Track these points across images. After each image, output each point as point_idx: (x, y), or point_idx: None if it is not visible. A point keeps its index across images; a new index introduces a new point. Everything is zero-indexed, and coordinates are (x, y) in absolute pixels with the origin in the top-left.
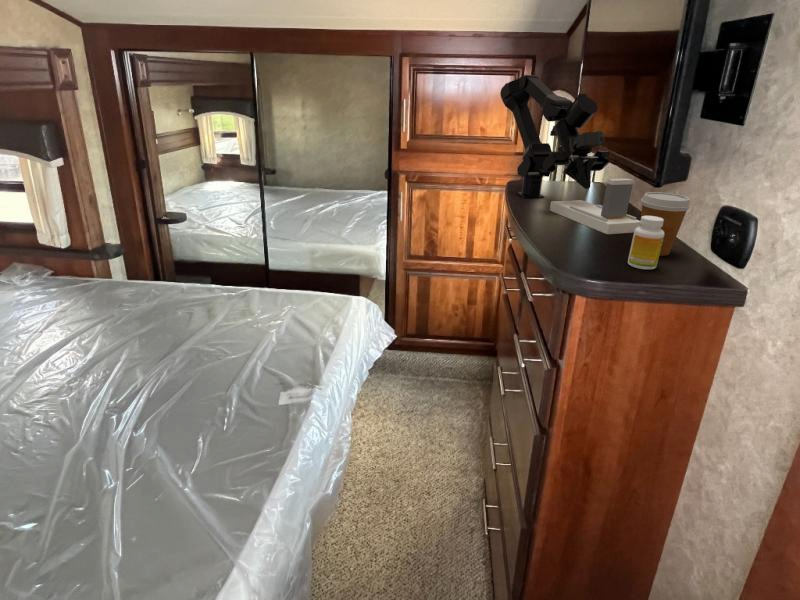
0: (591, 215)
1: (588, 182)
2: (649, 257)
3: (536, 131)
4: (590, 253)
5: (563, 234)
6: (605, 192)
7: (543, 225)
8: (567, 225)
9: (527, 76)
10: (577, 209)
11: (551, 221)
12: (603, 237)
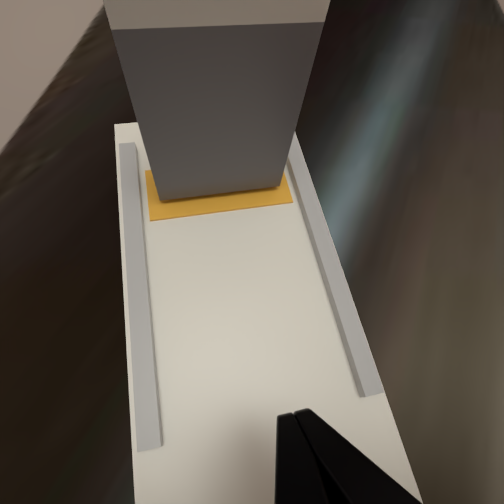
0: (317, 205)
1: (304, 447)
2: None
3: None
4: (397, 27)
5: (435, 151)
6: (305, 85)
7: (495, 255)
8: (394, 252)
9: None
10: (355, 311)
11: (455, 317)
12: (308, 116)
